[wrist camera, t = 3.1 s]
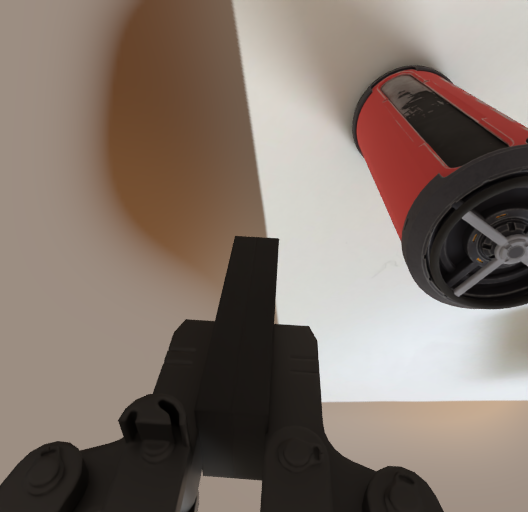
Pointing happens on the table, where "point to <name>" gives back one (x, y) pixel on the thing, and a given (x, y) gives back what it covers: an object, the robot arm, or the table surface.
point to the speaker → (449, 186)
